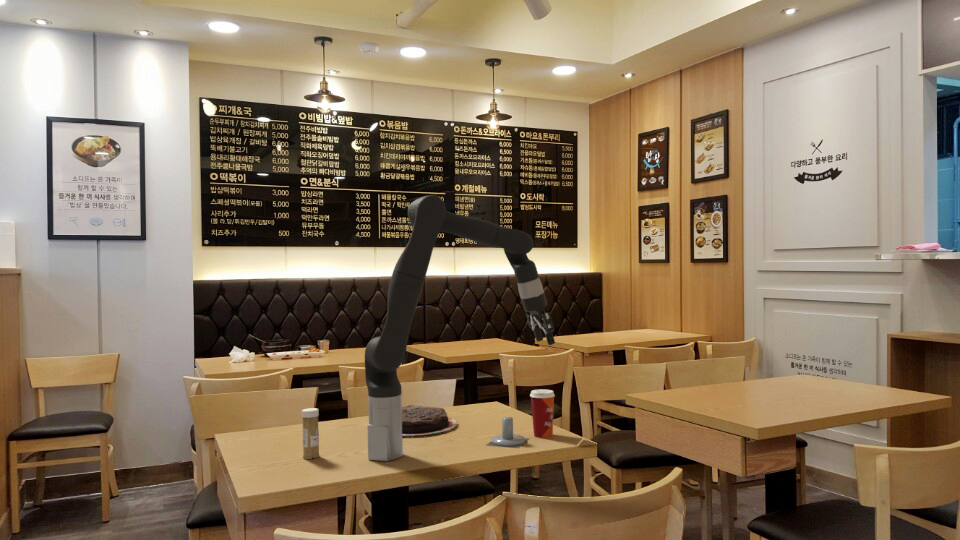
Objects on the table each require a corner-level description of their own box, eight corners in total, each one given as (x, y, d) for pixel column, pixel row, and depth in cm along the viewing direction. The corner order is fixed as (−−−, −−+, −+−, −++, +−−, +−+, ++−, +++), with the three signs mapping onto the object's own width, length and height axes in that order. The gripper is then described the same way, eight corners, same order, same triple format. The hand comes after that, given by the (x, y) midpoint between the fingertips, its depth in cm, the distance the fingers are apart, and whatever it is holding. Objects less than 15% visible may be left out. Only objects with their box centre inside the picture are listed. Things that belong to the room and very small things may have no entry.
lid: (518, 447, 182) (518, 423, 182) (486, 444, 186) (485, 420, 186) (529, 438, 191) (528, 415, 191) (497, 436, 195) (497, 413, 195)
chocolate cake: (425, 443, 192) (425, 421, 192) (354, 433, 206) (354, 413, 206) (472, 423, 216) (472, 404, 216) (406, 415, 230) (406, 397, 230)
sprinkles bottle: (319, 458, 176) (318, 410, 176) (302, 460, 175) (301, 411, 175) (319, 454, 181) (318, 407, 181) (303, 455, 180) (302, 408, 180)
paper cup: (554, 440, 190) (553, 393, 190) (529, 439, 192) (528, 393, 192) (556, 433, 198) (555, 389, 198) (532, 433, 199) (531, 388, 199)
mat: (518, 449, 181) (518, 448, 181) (485, 446, 185) (485, 445, 185) (529, 439, 192) (529, 438, 192) (498, 437, 195) (498, 435, 195)
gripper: (512, 296, 205) (526, 343, 207) (530, 299, 191) (545, 349, 193) (533, 289, 207) (546, 335, 209) (552, 291, 194) (566, 341, 196)
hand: (545, 342), depth 201 cm, fingers open, 8 cm apart
